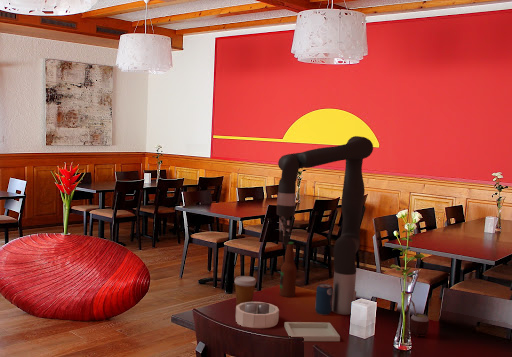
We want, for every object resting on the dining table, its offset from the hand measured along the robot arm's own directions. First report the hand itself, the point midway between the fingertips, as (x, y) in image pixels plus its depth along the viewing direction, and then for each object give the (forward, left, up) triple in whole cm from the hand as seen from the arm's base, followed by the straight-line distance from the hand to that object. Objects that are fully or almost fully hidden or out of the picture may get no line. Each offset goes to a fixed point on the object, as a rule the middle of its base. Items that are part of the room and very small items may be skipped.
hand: (283, 242), depth 236 cm
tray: (-8, +24, -30) cm, 39 cm away
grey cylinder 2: (+9, +10, -29) cm, 32 cm away
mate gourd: (-50, +24, -30) cm, 63 cm away
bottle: (-8, -27, -30) cm, 41 cm away
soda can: (-19, -2, -30) cm, 36 cm away
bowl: (+11, +10, -30) cm, 34 cm away
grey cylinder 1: (+14, +10, -29) cm, 34 cm away
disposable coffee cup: (+14, -10, -30) cm, 35 cm away
